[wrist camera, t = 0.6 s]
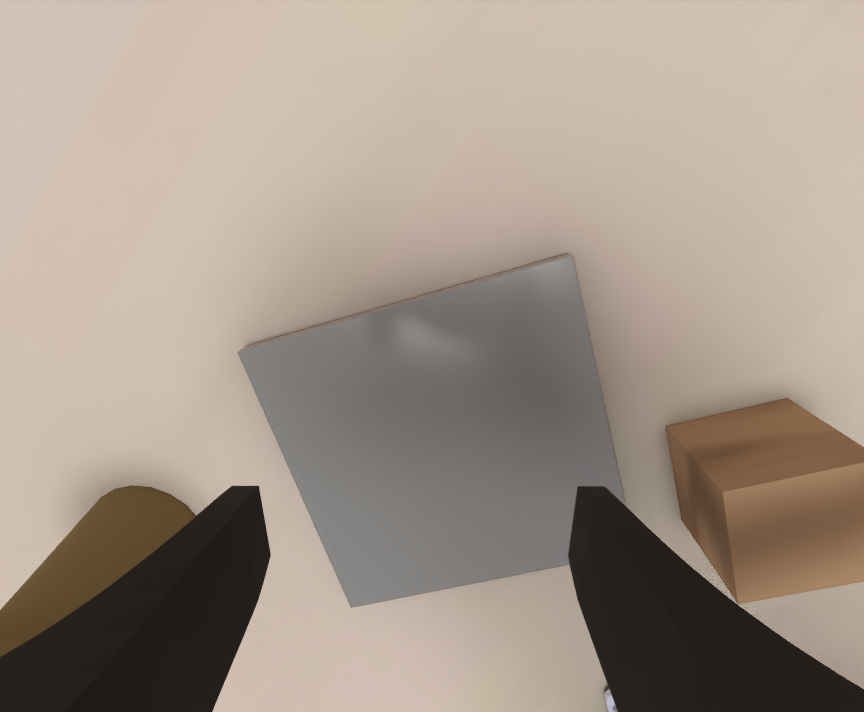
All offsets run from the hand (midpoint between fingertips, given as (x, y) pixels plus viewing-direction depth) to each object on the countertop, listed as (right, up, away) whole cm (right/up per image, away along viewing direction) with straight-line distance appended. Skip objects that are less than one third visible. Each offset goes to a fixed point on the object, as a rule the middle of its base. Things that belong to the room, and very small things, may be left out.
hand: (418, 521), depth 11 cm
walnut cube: (+14, -1, +11) cm, 17 cm away
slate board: (+1, 0, +11) cm, 11 cm away
